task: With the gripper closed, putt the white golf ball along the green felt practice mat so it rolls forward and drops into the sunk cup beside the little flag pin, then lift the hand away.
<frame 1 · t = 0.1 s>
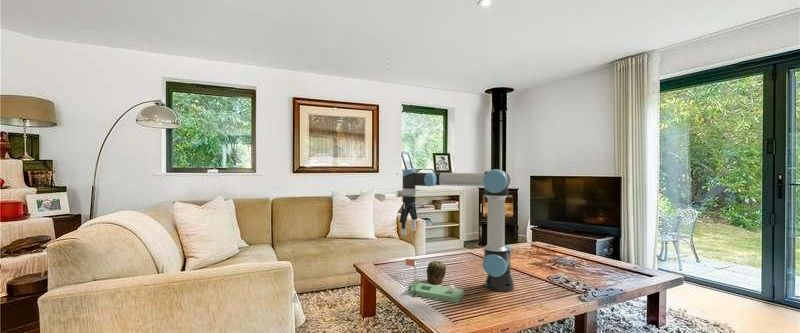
hand: (408, 232, 192), 28 cm above the table, fingers open, 13 cm apart
flag pin: (414, 296, 168), on the table
ball: (451, 288, 168), point 4 cm above the table, touching mat
ribbed round cactus: (436, 282, 190), on the table
mat: (436, 294, 171), on the table
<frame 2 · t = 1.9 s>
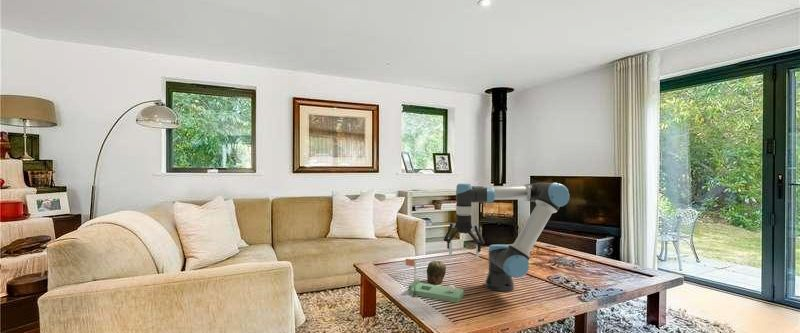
hand: (463, 257, 166), 21 cm above the table, fingers open, 13 cm apart
nothing on the table moved.
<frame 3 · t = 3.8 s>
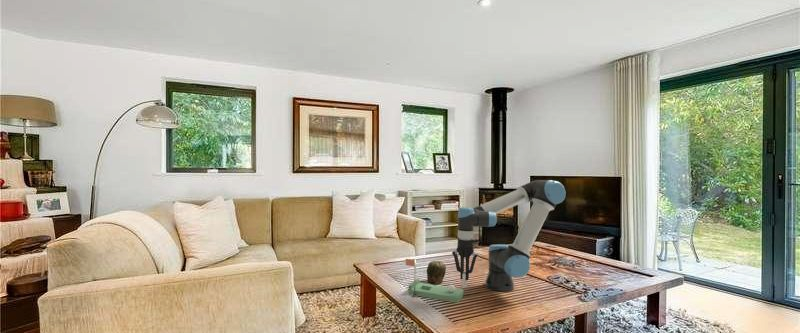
hand: (464, 286, 165), 7 cm above the table, fingers closed
nothing on the table moved.
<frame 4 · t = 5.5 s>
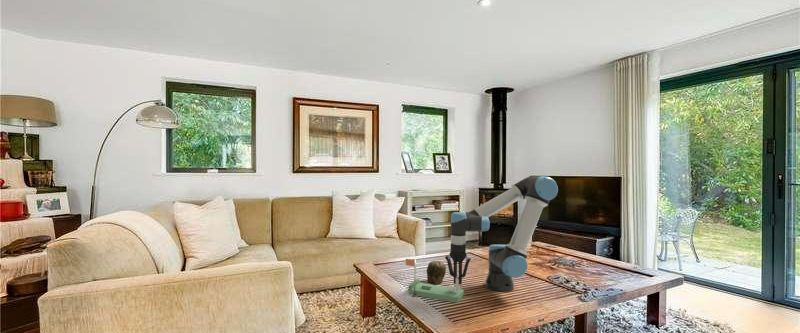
hand: (457, 290, 166), 4 cm above the table, fingers closed
nothing on the table moved.
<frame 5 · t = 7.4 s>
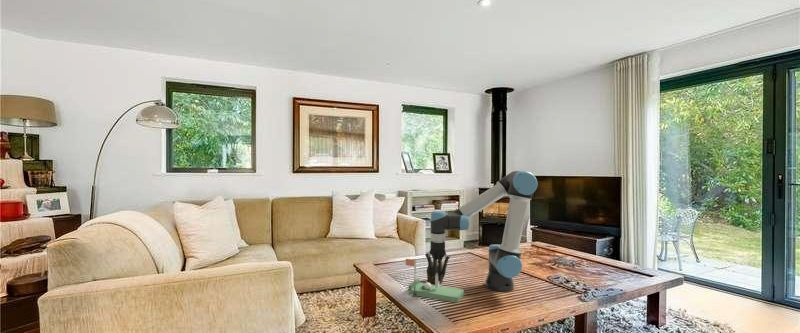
hand: (437, 287, 171), 4 cm above the table, fingers closed
ball: (427, 286, 173), point 4 cm above the table, tilted 40°, touching mat
everything else where it was.
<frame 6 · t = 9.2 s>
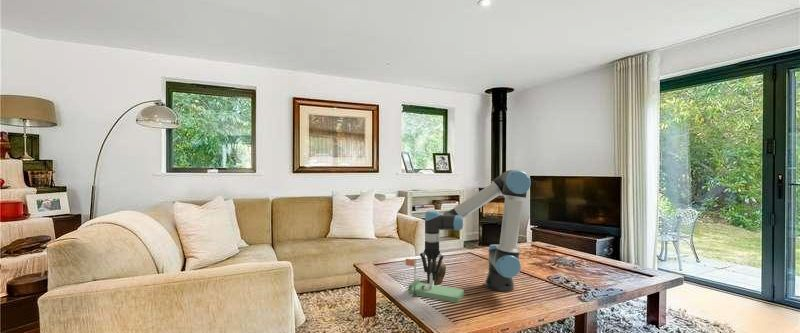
hand: (431, 286, 172), 4 cm above the table, fingers closed
ball: (426, 289, 173), point 2 cm above the table, tilted 79°
everything else where it was.
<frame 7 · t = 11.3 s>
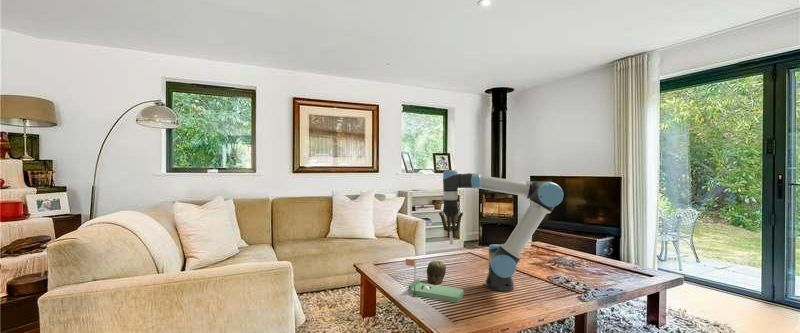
hand: (451, 243, 175), 25 cm above the table, fingers closed
ball: (426, 289, 173), point 2 cm above the table, tilted 90°
everything else where it was.
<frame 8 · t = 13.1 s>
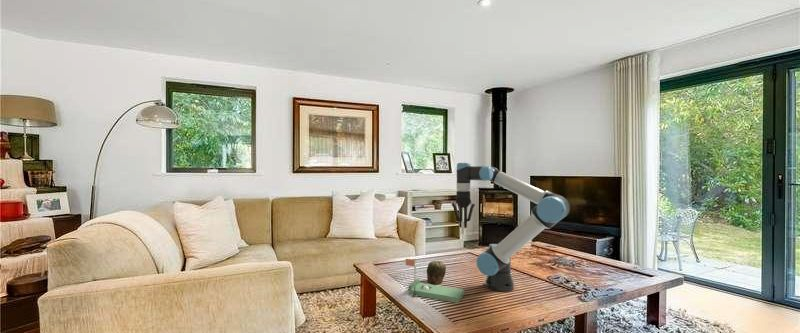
hand: (463, 233, 182), 29 cm above the table, fingers closed
ball: (425, 289, 173), point 2 cm above the table, tilted 99°
everything else where it was.
at the end: ball 0.4 cm from the target spot on the mat, point 1.8 cm above the mat's base; the gripper is holding nothing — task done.
